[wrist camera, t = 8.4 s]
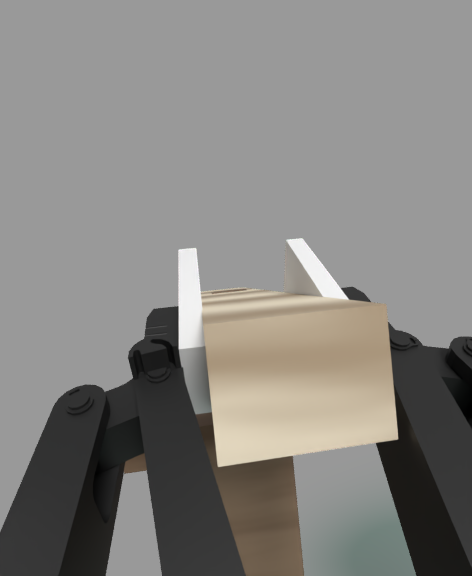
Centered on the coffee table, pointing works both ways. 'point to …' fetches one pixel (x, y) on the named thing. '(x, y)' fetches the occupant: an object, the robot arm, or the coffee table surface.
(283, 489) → the walnut stand
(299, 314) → the birch bar
